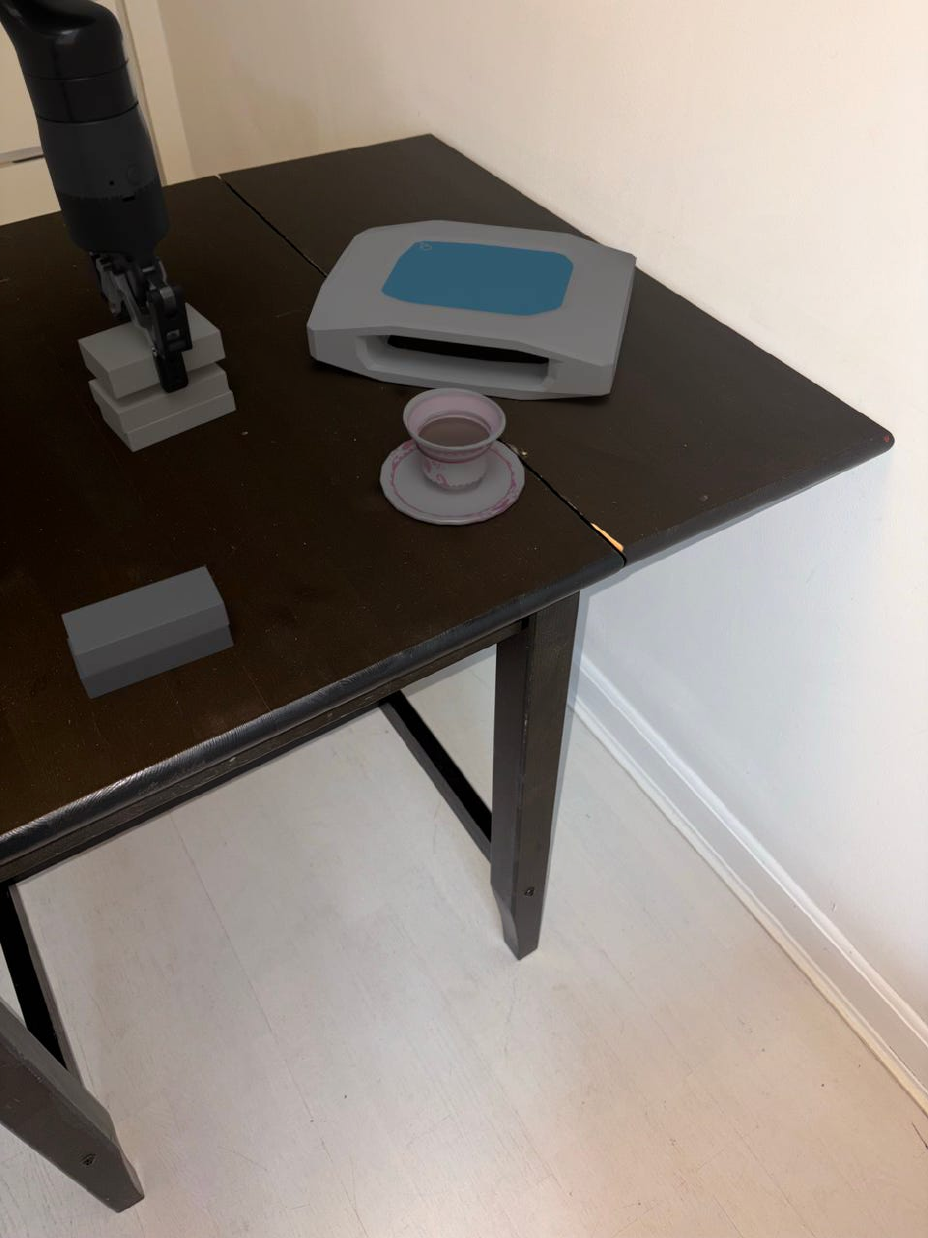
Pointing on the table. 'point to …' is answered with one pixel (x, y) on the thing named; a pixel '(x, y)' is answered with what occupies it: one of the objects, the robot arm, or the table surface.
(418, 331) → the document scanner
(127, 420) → the grey block
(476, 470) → the teacup
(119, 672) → the gray block
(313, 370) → the table surface
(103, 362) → the light grey rectangular block
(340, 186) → the table surface
